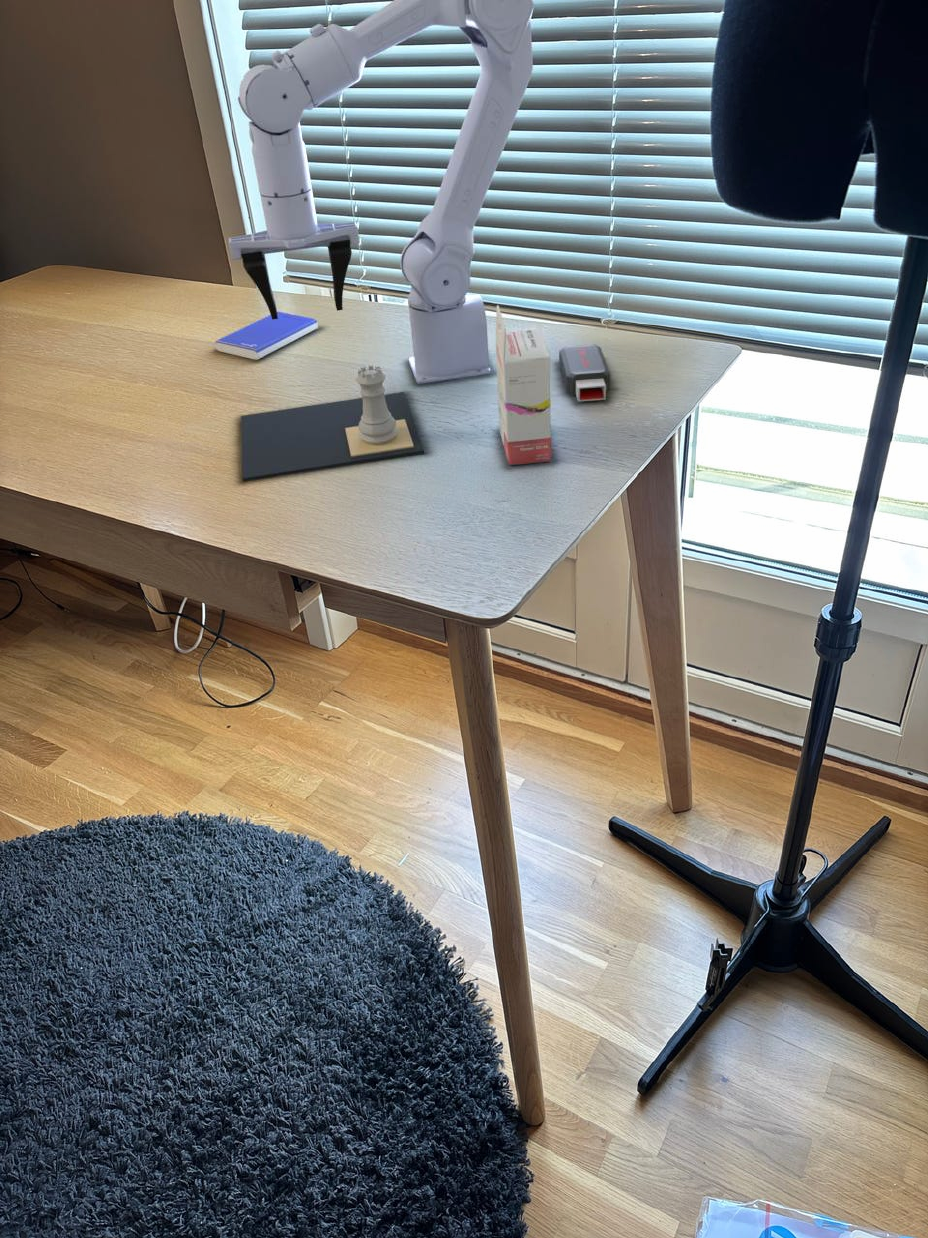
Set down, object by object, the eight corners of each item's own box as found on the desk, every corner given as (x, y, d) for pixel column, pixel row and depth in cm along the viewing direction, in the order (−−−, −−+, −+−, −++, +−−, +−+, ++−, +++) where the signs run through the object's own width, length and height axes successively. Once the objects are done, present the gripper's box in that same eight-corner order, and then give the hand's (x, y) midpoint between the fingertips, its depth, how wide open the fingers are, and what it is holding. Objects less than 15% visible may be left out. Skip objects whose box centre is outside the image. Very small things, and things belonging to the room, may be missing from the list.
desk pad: (404, 394, 118) (403, 390, 118) (424, 453, 106) (423, 448, 105) (241, 418, 116) (240, 414, 116) (242, 481, 104) (241, 476, 103)
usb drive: (599, 360, 122) (600, 339, 121) (613, 400, 113) (614, 378, 111) (559, 363, 122) (558, 342, 121) (569, 404, 113) (569, 382, 111)
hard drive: (256, 349, 129) (316, 318, 137) (214, 339, 133) (275, 310, 141) (258, 360, 130) (318, 329, 138) (216, 350, 134) (277, 320, 142)
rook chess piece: (392, 446, 106) (383, 378, 101) (354, 445, 107) (343, 377, 102) (402, 428, 110) (394, 361, 105) (365, 427, 111) (355, 361, 106)
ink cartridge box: (554, 462, 102) (552, 327, 93) (507, 467, 102) (501, 332, 93) (542, 426, 109) (539, 297, 100) (498, 431, 109) (491, 302, 100)
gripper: (219, 207, 102) (246, 332, 110) (354, 191, 103) (371, 314, 112) (220, 192, 107) (245, 311, 116) (348, 176, 109) (364, 295, 117)
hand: (307, 311), depth 114 cm, fingers open, 7 cm apart
